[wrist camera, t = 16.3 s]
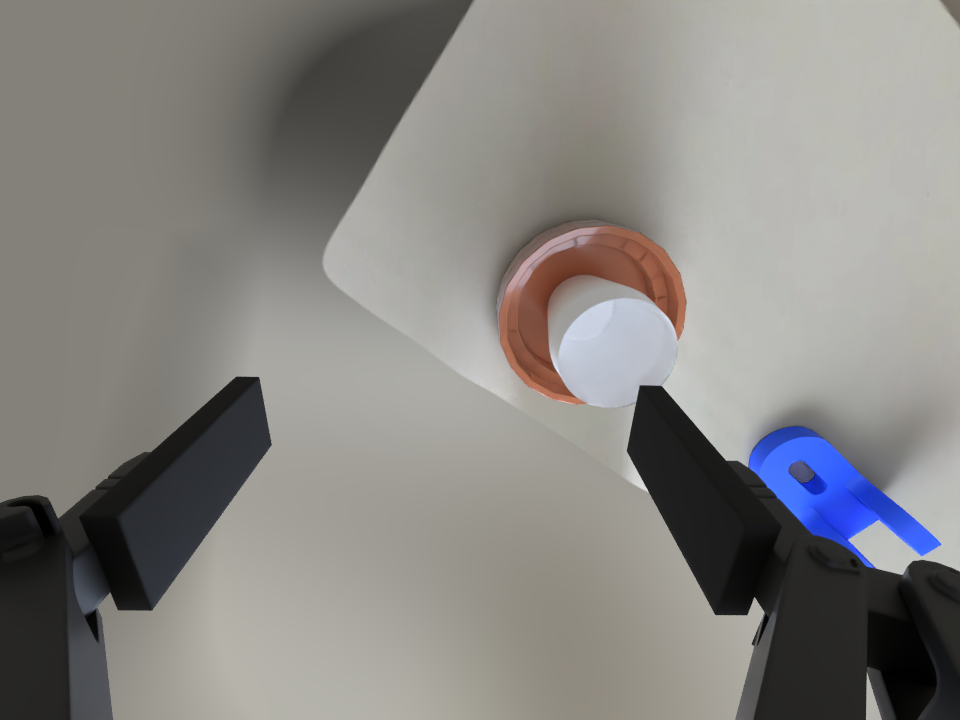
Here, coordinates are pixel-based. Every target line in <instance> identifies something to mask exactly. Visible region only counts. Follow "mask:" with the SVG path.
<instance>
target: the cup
mask: <svg viewBox="0 0 960 720" xmlns="http://www.w3.org/2000/svg"><path fill="white" fill-rule="evenodd" d="M547 317H548V337H549V351H550V355H551V359H552V362H553V365H554V367H555V369H556V370H557V372H558V373H559V375H560V377H561V378H562V380H563V382H564V384H565V385H566V387H567V388H568V390H569V391H570V392H571V393H572V394H573V395H574V396H576V397H577V398H578V399H580V400H581V401H583V402H585V403H587V404H590V405H593V406H596V407H602V408H619V407H625V406H629V405H632V404H635V403H636V401H637V396H638V391H639V386H640V385H654V386H661V385H662V384H663V383H664V382H665V381H666V379H667V378H668V376H669V375H670V373H671V371H672V369H673V367H674V364H675V361H676V357H677V350H678V343H677V336H676V332H675V329H674V327H673V325H672V323H671V321H670V320H669V318H668V317H667V316H666V315H665V314H664V313H663V312H662V311H661V310H660V309H659V308H658V307H657V306H656V305H655V303H654V302H653V301H652V300H651V299H650V298H648V297H647V296H646V295H644V294H643V293H641V292H639V291H637V290H635V289H633V288H630V287H627V286H624V285H621V284H618V283H615V282H612V281H609V280H605V279H602V278H599V277H596V276H592V275H577V276H573V277H571V278H569V279H567V280H565V281H563V282H562V283H561V284H560V285H558V286H557V287H556V289H555V290H554V291H553V293H552V295H551V296H550V299H549V302H548V307H547Z"/></svg>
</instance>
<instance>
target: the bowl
mask: <svg viewBox="0 0 960 720" xmlns="http://www.w3.org/2000/svg"><path fill="white" fill-rule="evenodd" d="M577 275H592V276H596V277H599V278H602V279H605V280H609V281H612V282H615V283H618V284H621V285H624V286H627V287H630V288H633V289H635V290H637V291H639V292H641V293H643V294H644V295H646V296H647V297H648V298H650V299H651V300H652V301H653V302H654V303H655V305H656V306H657V307H658V308H659V309H660V310H661V311H662V312H663V313H664V314H665V315H666V316H667V317H668V318H669V320H670V321H671V323H672V325H673V327H674V329H675V332H676V336H677V342H678V340H679V338H680V335H681V333H682V331H683V328H684V320H685V311H686V302H687V301H686V297H685V292H684V288H683V283H682V279H681V275H680V272H679V271H678V269H677V268H676V266H675V265H674V263H673V262H672V260H671V259H670V257H669V256H668V254H667V253H666V251H665V250H664V249H663V248H661V247H660V246H658V245H657V244H655V243H654V242H653V241H651V240H650V239H648V238H647V237H645V236H644V235H643V234H641V233H639V232H637V231H634V230H632V229H629V228H627V227H624V226H620V225H617V224H613V223H609V222H605V221H601V220H597V219H595V220H583V221H570V222H566V223H564V224H561V225H559V226H556V227H554V228H552V229H549V230H547V231H544V232H542V233H540V234H539V235H538V236H537V237H535V238H534V239H533V240H532V241H531V242H529V243H528V244H527V245H526V246H525V247H524V248H522V249H521V250H520V251H519V252H518V253H517V255H516V256H515V258H514V260H513V261H512V263H511V264H510V266H509V267H508V269H507V270H506V272H505V274H504V276H503V278H502V282H501V286H500V289H499V293H498V297H497V300H496V301H497V302H496V307H497V323H498V331H499V338H500V343H501V346H502V348H503V351H504V353H505V355H506V358H507V360H508V362H509V365H510V367H511V368H512V369H513V370H514V372H515V373H516V374H517V375H518V376H519V377H520V378H521V379H522V380H523V382H524V383H525V384H526V385H527V386H529V387H530V388H532V389H534V390H536V391H537V392H539V393H541V394H543V395H544V396H546V397H548V398H550V399H553V400H558V401H563V402H567V403H572V404H587V403H585V402H583V401H581V400H580V399H578V398H577V397H576V396H574V395H573V394H572V393H571V392H570V391H569V390H568V388H567V387H566V385H565V384H564V382H563V380H562V378H561V377H560V375H559V373H558V372H557V370H556V369H555V367H554V365H553V362H552V359H551V355H550V351H549V337H548V317H547V307H548V302H549V299H550V296H551V295H552V293H553V291H554V290H555V289H556V287H557V286H558V285H560V284H561V283H562V282H563V281H565V280H567V279H569V278H571V277H573V276H577Z"/></svg>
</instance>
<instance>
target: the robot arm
mask: <svg viewBox="0 0 960 720" xmlns="http://www.w3.org/2000/svg"><path fill="white" fill-rule="evenodd" d="M271 445H272V444H271V439H270V433H269V428H268V422H267V417H266V412H265V406H264V401H263V395H262V390H261V384H260V379H259V377H235V378H234V379H233V380H232V381H231V382H230V383H229V384H228V385H227V386H225V387H224V388H223V389H222V390H221V391H220V392H219V393H217V394H216V395H215V396H214V397H213V398H212V399H211V400H210V401H208V402H207V403H206V404H205V405H204V406H203V407H202V408H201V409H200V410H198V411H197V412H196V413H195V414H194V415H193V416H192V417H190V418H189V419H188V420H187V421H186V422H185V423H184V424H183V425H181V426H180V427H179V428H178V429H177V430H176V431H175V432H174V433H172V434H171V435H170V436H169V437H168V438H167V439H166V440H165V441H163V442H162V443H161V444H160V445H159V446H158V447H157V448H156V449H154V450H153V451H152V452H144V453H142V454H140V455H138V456H136V457H134V458H133V459H131V460H129V461H127V462H125V463H123V464H122V465H121V466H120V467H119V468H118V469H117V470H115V471H114V472H113V473H112V474H110V475H109V476H108V479H105V480H103V481H102V482H101V483H100V484H99V485H97V486H96V489H95V490H92V491H91V492H89V493H88V494H87V495H86V496H85V497H83V498H82V499H81V500H80V501H79V502H77V503H76V504H75V505H74V506H73V507H72V508H70V509H69V510H68V511H67V512H66V513H65V514H63V515H62V516H61V517H60V518H59V519H58V518H57V516H56V514H55V511H54V509H53V507H52V505H51V503H50V501H49V499H48V498H47V497H43V496H39V495H34V496H23V497H19V498H15V499H11V500H7V501H4V502H2V503H0V720H113V716H112V708H111V698H110V689H109V680H108V670H107V661H106V652H105V643H104V634H103V625H102V617H101V615H100V613H99V610H98V608H97V607H98V606H99V604H100V603H101V602H102V601H103V600H104V598H105V597H106V596H107V595H108V594H109V593H110V592H111V594H112V597H113V600H114V602H115V604H116V607H117V609H118V610H149V611H150V610H153V608H154V607H155V606H156V604H157V603H158V602H159V600H160V599H161V597H162V596H163V594H164V593H165V592H166V590H167V589H168V588H169V586H170V585H171V584H172V582H173V581H174V579H175V578H176V577H177V575H178V574H179V572H180V571H181V570H182V568H183V567H184V566H185V564H186V563H187V561H188V560H189V559H190V557H191V556H192V555H193V553H194V552H195V550H196V549H197V548H198V546H199V545H200V543H201V542H202V541H203V539H204V538H205V536H206V535H207V534H208V532H209V531H210V530H211V528H212V527H213V525H214V524H215V523H216V521H217V520H218V518H219V517H220V516H221V514H222V513H223V511H224V510H225V509H226V507H227V506H228V505H229V503H230V502H231V501H232V499H233V498H234V496H235V495H236V494H237V492H238V491H239V489H240V488H241V487H242V485H243V484H244V482H245V481H246V480H247V478H248V477H249V475H250V474H251V473H252V471H253V470H254V469H255V467H256V466H257V464H258V463H259V462H260V460H261V459H262V458H263V456H264V455H265V454H266V452H267V451H268V449H269V448H270V446H271ZM627 452H628V454H629V456H630V458H631V460H632V462H633V463H634V465H635V467H636V469H637V471H638V473H639V475H640V476H641V478H642V480H643V482H644V484H645V486H646V488H647V489H648V491H649V493H650V495H651V497H652V499H653V500H654V502H655V504H656V506H657V508H658V510H659V512H660V513H661V515H662V517H663V519H664V521H665V523H666V524H667V526H668V528H669V530H670V532H671V534H672V536H673V537H674V539H675V541H676V543H677V545H678V547H679V548H680V550H681V552H682V554H683V556H684V558H685V559H686V561H687V563H688V565H689V567H690V569H691V571H692V572H693V574H694V576H695V578H696V580H697V582H698V584H699V585H700V587H701V589H702V591H703V593H704V594H705V596H706V598H707V600H708V602H709V604H710V606H711V608H712V609H713V611H714V613H715V615H747V614H748V612H749V609H750V607H751V604H752V601H753V599H754V597H755V598H756V599H757V601H758V603H759V604H760V606H761V607H762V609H763V610H764V612H765V613H764V615H763V618H762V620H761V622H760V625H759V627H758V630H757V632H756V635H755V637H754V639H753V642H752V645H754V650H753V653H752V657H751V661H750V665H749V669H748V673H747V677H746V680H745V684H744V688H743V692H742V696H741V700H740V704H739V707H738V712H737V715H736V720H866V680H867V673H868V676H869V679H870V683H871V686H872V689H873V692H874V696H875V699H876V702H877V705H878V708H879V711H880V715H881V718H882V720H960V572H959V571H957V570H955V569H953V568H950V567H947V566H945V565H942V564H939V563H936V562H931V561H925V560H919V561H913V562H912V563H911V564H910V565H909V566H908V567H907V569H906V571H905V572H904V574H903V575H899V574H895V573H891V572H887V571H883V570H879V569H875V568H871V567H867V566H865V564H864V563H863V562H862V561H861V560H860V558H859V557H858V556H857V555H856V554H854V553H853V552H852V551H850V550H849V549H848V548H846V547H845V546H843V545H841V544H839V543H837V542H835V541H833V540H831V539H828V538H824V537H821V536H818V535H812V533H811V532H810V531H809V530H808V529H807V528H806V527H805V526H804V525H803V524H802V523H801V522H800V520H799V519H798V518H797V517H796V516H795V515H794V514H793V513H792V512H791V511H790V510H789V509H788V507H787V506H786V505H785V504H784V503H783V502H782V501H781V500H780V499H777V496H776V494H775V493H774V492H773V491H772V490H771V489H770V488H767V485H766V484H765V483H764V481H763V480H762V479H761V478H760V477H759V476H758V475H757V474H756V473H755V472H754V471H752V470H751V469H749V468H748V467H746V466H745V465H743V464H742V463H740V462H738V461H726V460H725V459H724V458H723V457H722V456H721V454H720V453H719V452H718V451H717V450H716V449H715V447H714V446H713V445H712V444H711V443H710V442H709V441H708V439H707V438H706V437H705V436H704V435H703V434H702V432H701V431H700V430H699V429H698V428H697V427H696V425H695V424H694V423H693V422H692V421H691V420H690V418H689V417H688V416H687V415H686V414H685V413H684V411H683V410H682V409H681V408H680V407H679V406H678V404H677V403H676V402H675V401H674V400H673V399H672V397H671V396H670V395H669V394H668V393H667V392H666V391H665V389H664V388H663V387H662V386H654V385H640V386H639V391H638V396H637V401H636V406H635V412H634V417H633V422H632V427H631V432H630V437H629V443H628V448H627Z"/></svg>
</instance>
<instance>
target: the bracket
mask: <svg viewBox="0 0 960 720" xmlns="http://www.w3.org/2000/svg"><path fill="white" fill-rule="evenodd" d="M796 461H804V462H805V463H806V464H807V465H808V466H809V467H810V468H811V469H812V470H813V471H814V472H815V476H814V478H813V479H812V480H811V481H809V482H807V483H799V482H798V481H797V480H796V479H795V478H794V477H793V476H792V475H790V474H789V473H788V468H789V466H790V465H791V464H792V463H794V462H796ZM749 469H751V470H752V471H754V472H755V473H756V474H757V475H758V476H759V477H760V478H761V479H762V480H763V481H764V483H765V484H766V485H767V488H770V489H771V490H772V491H773V492H774V493H775V494H776V496H777V499H780V500H781V501H782V502H783V503H784V504H785V505H786V506H787V507H788V509H789V510H790V511H791V512H792V513H793V514H794V515H795V516H796V517H797V518H798V519H799V520H800V522H801V523H802V524H803V525H804V526H805V527H806V528H807V529H808V530H809V531H810V532H811V533H812V535H818V536H821V537H824V538H828V539H831V540H833V541H835V542H837V543H839V544H841V545H843V546H845V547H846V548H848V549H849V550H850V551H852V552H853V553H854V554H856V555H857V556H858V557H859V558H860V560H861V561H862V562H863V563H864V564H865V566H867V567H871V568H875V567H874V566H873V565H872V564H871V563H870V562H869V561H868V560H867V559H866V558H865V557H864V556H863V555H862V554H861V553H860V552H859V551H858V550H857V549H856V548H855V547H854V546H853V545H852V544H851V543H850V542H849V541H848V539H849V538H851V537H852V536H854V535H855V534H857V533H859V532H860V531H862V530H863V529H865V528H866V527H868V526H869V525H871V524H872V523H874V522H875V521H877V520H880V521H881V522H882V523H883V524H884V525H886V526H887V527H888V528H889V529H890V530H891V531H893V532H894V533H895V534H896V535H897V536H898V537H899V538H901V539H902V540H903V541H904V542H905V543H906V544H908V545H909V546H910V547H911V548H912V549H913V550H915V551H916V552H917V553H918V554H919V555H921V556H923V555H925V554H926V553H928V552H930V551H931V550H933V549H935V548H936V547H938V546H940V545H941V543H940V542H939V541H938V540H937V539H936V538H935V537H934V536H933V535H932V534H931V533H930V532H928V531H927V530H926V529H925V528H924V527H923V526H922V525H921V524H920V523H918V522H917V521H916V520H915V519H914V518H913V517H912V516H910V515H909V514H908V513H907V512H906V511H905V510H903V509H902V508H901V507H900V506H899V505H897V504H896V503H895V502H894V501H892V500H891V499H890V498H889V497H887V496H886V495H885V494H884V493H882V492H881V491H880V490H879V489H877V488H876V487H875V486H874V485H872V484H871V483H870V482H869V481H868V480H866V479H865V478H864V477H863V476H862V475H861V474H860V473H859V472H858V471H857V470H856V469H855V468H854V467H853V466H852V465H851V464H850V463H849V462H848V461H847V460H846V459H845V458H844V457H843V456H842V455H841V454H840V453H839V452H838V451H837V450H836V449H835V448H834V447H833V446H832V445H831V444H829V443H828V442H827V441H826V440H824V439H823V438H822V437H821V436H819V435H818V434H817V433H815V432H814V431H812V430H811V429H808V428H805V427H798V426H794V427H786V428H783V429H780V430H777V431H775V432H773V433H771V434H769V435H768V436H766V437H765V438H764V439H762V440H761V441H760V442H759V443H758V444H757V446H756V447H755V448H754V450H753V452H752V454H751V456H750V460H749ZM875 569H876V568H875Z"/></svg>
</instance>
